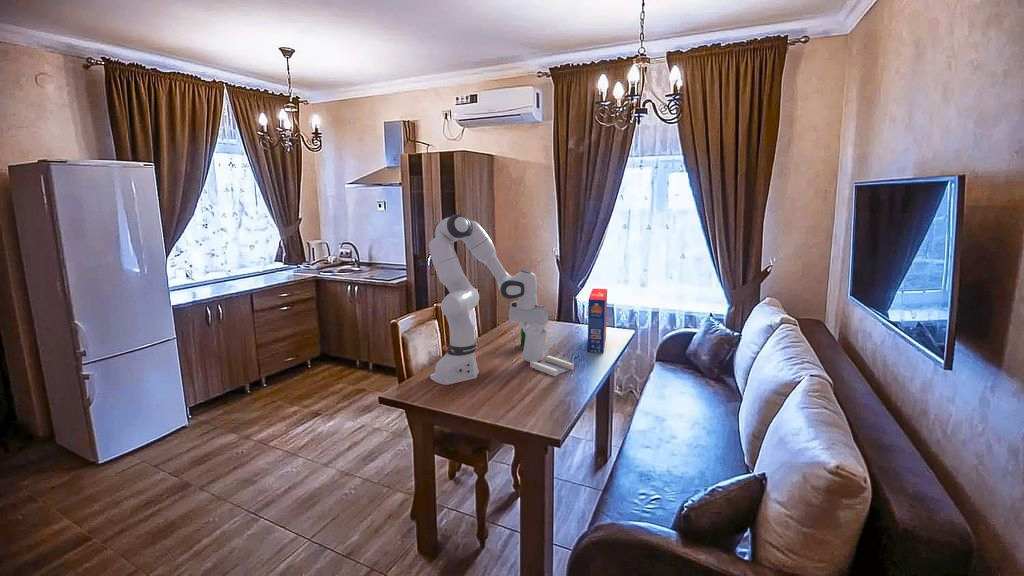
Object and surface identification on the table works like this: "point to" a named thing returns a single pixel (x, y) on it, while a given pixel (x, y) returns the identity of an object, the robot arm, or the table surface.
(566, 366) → the cradle
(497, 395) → the table surface
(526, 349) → the milk carton
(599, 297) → the pasta box
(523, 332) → the soya milk
